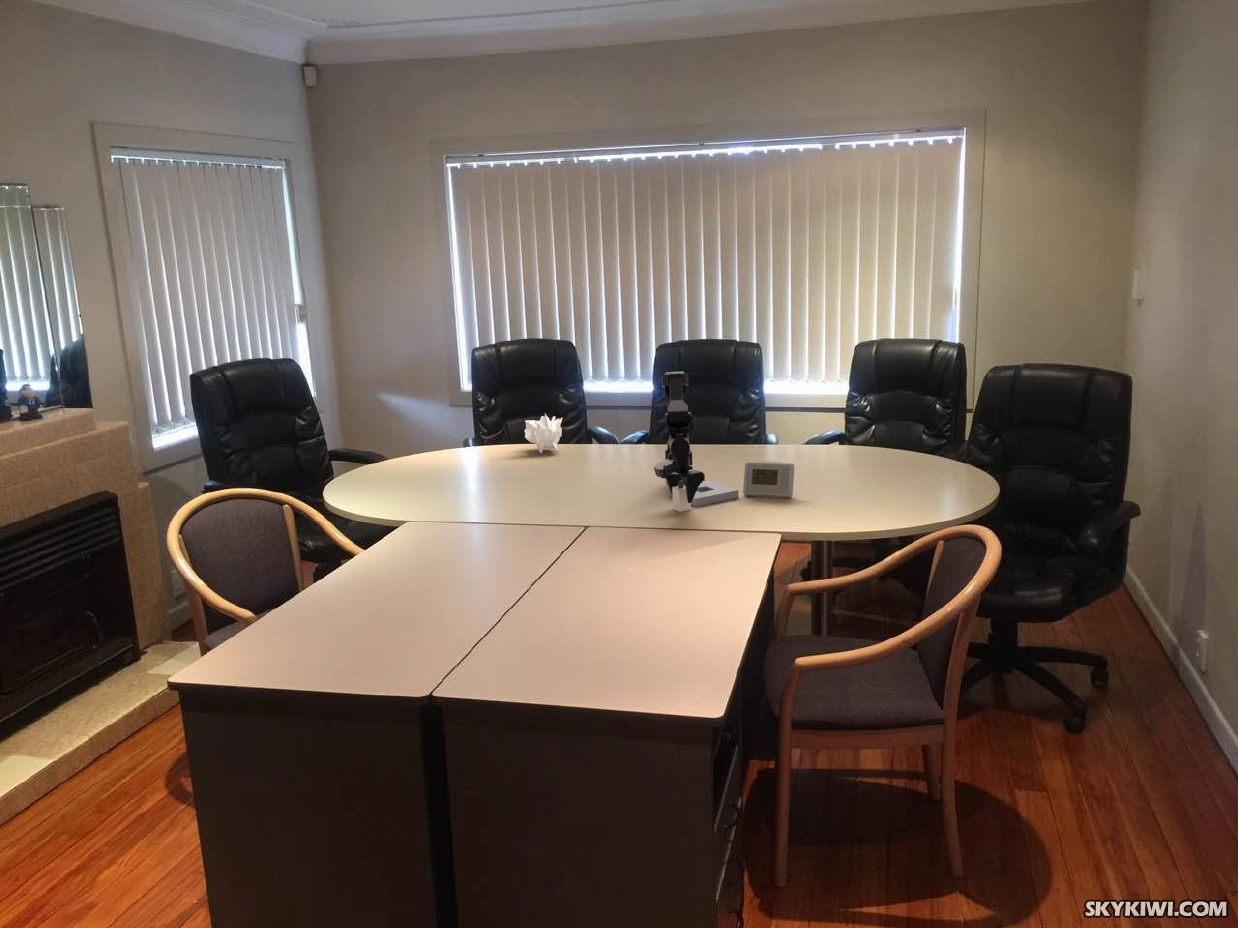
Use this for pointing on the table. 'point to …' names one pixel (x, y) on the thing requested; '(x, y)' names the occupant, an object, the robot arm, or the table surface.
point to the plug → (680, 498)
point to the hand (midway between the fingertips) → (681, 499)
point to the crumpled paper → (544, 433)
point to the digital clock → (768, 479)
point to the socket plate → (712, 493)
